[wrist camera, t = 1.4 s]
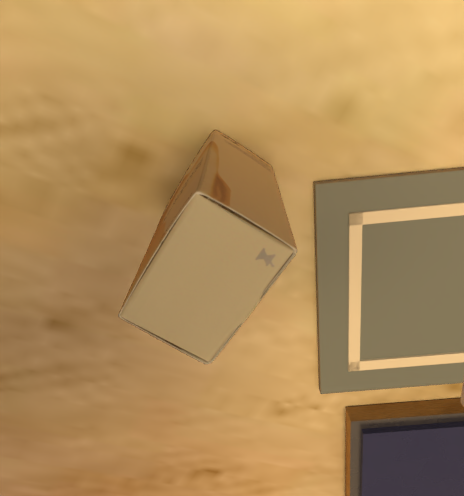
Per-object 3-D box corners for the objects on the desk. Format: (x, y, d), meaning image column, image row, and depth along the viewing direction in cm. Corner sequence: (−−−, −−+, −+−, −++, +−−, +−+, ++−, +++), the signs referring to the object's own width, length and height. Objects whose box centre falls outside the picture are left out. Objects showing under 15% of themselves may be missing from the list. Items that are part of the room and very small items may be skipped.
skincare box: (213, 126, 25) (199, 177, 14) (275, 166, 26) (307, 244, 15) (160, 214, 28) (110, 320, 16) (218, 248, 28) (209, 371, 17)
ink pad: (345, 496, 38) (351, 519, 36) (345, 406, 34) (352, 426, 32) (487, 486, 37) (500, 508, 35) (504, 394, 33) (520, 414, 31)
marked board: (319, 388, 33) (321, 395, 32) (313, 181, 27) (316, 185, 26) (535, 371, 32) (542, 378, 32) (581, 155, 26) (591, 158, 25)
